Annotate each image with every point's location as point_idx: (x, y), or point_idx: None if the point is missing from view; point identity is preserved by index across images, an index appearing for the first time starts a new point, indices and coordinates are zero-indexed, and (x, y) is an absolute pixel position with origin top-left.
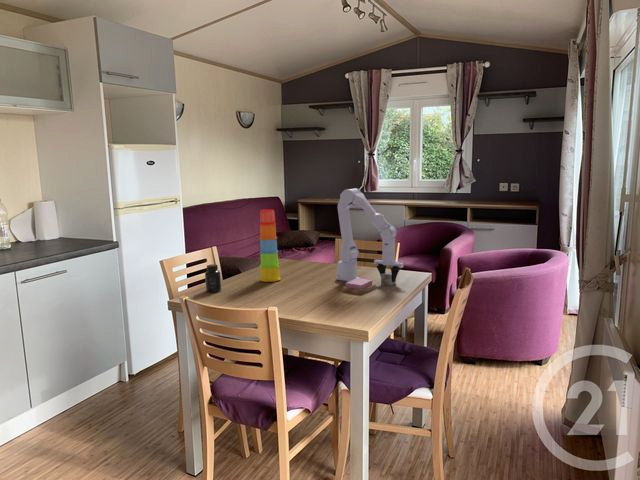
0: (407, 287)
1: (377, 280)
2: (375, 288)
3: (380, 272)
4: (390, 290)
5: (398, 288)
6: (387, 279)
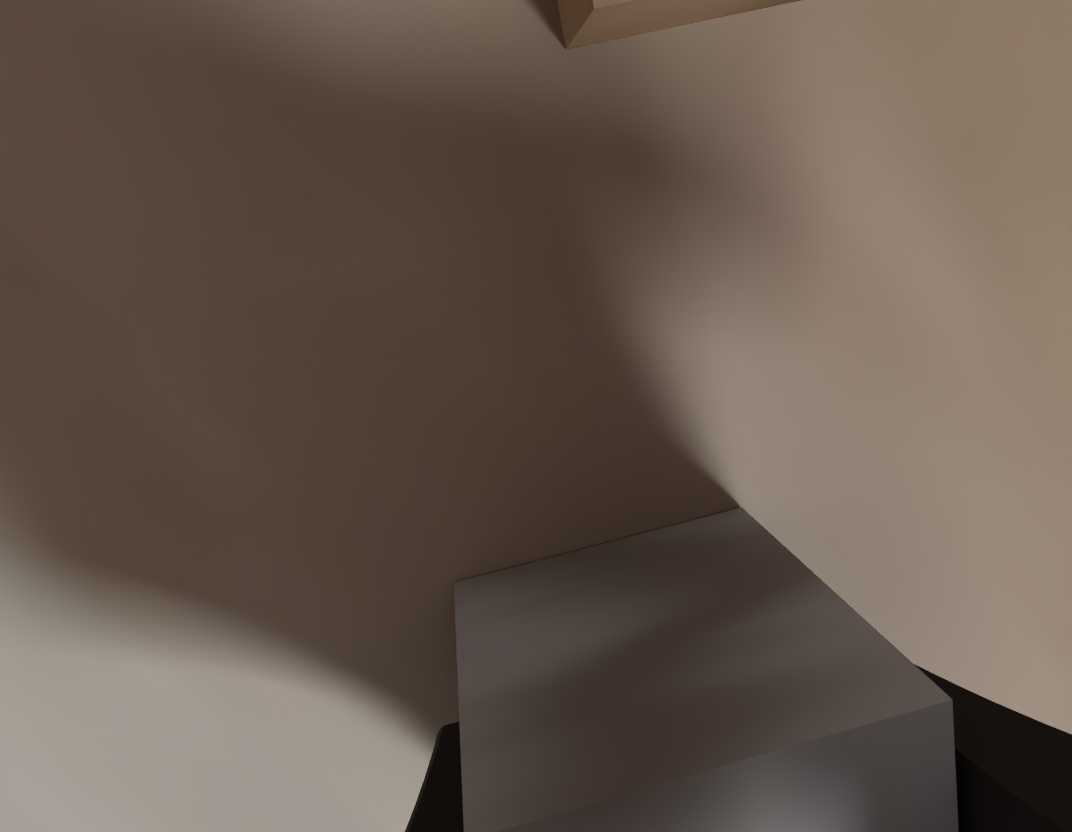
0: (23, 800)
1: (1020, 681)
2: (563, 36)
3: (1059, 768)
4: (55, 219)
5: (94, 563)
6: (580, 657)
